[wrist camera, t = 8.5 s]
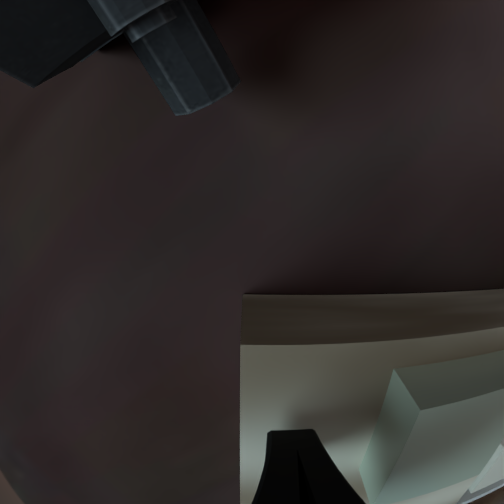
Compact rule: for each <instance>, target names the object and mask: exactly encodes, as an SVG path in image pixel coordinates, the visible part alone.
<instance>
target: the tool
mask: <svg viewBox="0 0 504 504" xmlns="http://www.w3.org/2000/svg"><path fill="white" fill-rule="evenodd" d="M122 33H123V34H124V36H125V37H126V39H127V40H128V42H129V44H130V45H131V47H132V48H133V50H134V51H135V53H136V54H137V56H138V58H139V59H140V61H141V62H142V64H143V65H144V67H145V68H146V70H147V72H148V73H149V75H150V76H151V78H152V79H153V81H154V83H155V84H156V86H157V87H158V89H159V90H160V92H161V93H162V95H163V97H164V98H165V100H166V101H167V103H168V104H169V106H170V108H171V109H172V111H173V112H174V114H175V115H176V116H177V115H185V114H191V113H193V112H195V111H197V110H199V109H201V108H204V107H206V106H208V105H210V104H212V103H214V102H216V101H217V100H219V99H221V98H222V97H224V96H226V95H227V94H229V93H231V92H232V91H233V90H234V89H235V88H236V87H237V85H238V84H239V83H240V82H241V81H240V79H239V77H238V75H237V73H236V71H235V69H234V67H233V65H232V63H231V61H230V59H229V58H228V56H227V54H226V52H225V50H224V48H223V46H222V45H221V43H220V41H219V39H218V37H217V35H216V34H215V32H214V30H213V28H212V26H211V25H210V23H209V21H208V19H207V17H206V16H205V14H204V12H203V10H202V9H201V7H200V5H199V3H198V2H197V0H0V70H1V71H3V72H5V73H6V74H8V75H10V76H12V77H14V78H16V79H18V80H19V81H21V82H23V83H25V84H27V85H29V86H31V87H32V88H34V87H36V86H38V85H40V84H41V83H43V82H45V81H46V80H48V79H50V78H52V77H54V76H56V75H57V74H59V73H61V72H63V71H65V70H67V69H69V68H71V67H73V66H74V65H75V64H77V63H78V62H79V61H81V62H82V61H83V60H85V59H86V58H87V57H89V56H90V55H92V54H93V53H94V52H96V51H97V50H99V49H100V48H101V47H103V46H104V45H106V44H107V43H109V42H110V41H112V40H113V39H115V38H116V37H118V36H119V35H121V34H122Z"/></svg>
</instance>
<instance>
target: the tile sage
mask: <svg viewBox="0 0 504 504" xmlns="http://www.w3.org/2000/svg"><path fill="white" fill-rule="evenodd" d="M503 438H504V350H501V351H497V352H492V353H487V354H483V355H478V356H473V357H467V358H462V359H457V360H451V361H445V362H439V363H432V364H425V365H418V366H411V367H403V368H394V369H393V373H392V376H391V380H390V383H389V386H388V390H387V393H386V396H385V399H384V402H383V405H382V409H381V412H380V414H379V417H378V420H377V423H376V426H375V429H374V432H373V434H372V437H371V440H370V442H369V445H368V448H367V450H366V453H365V455H364V458H363V460H362V463H361V465H360V467H359V472H360V475H361V478H362V481H363V484H364V487H365V490H366V493H367V497H368V500H369V503H370V504H391V503H395V502H399V501H403V500H407V499H410V498H414V497H417V496H421V495H424V494H427V493H430V492H434V491H437V490H440V489H442V488H445V487H448V486H451V485H454V484H456V483H459V482H462V481H464V480H467V479H469V478H472V477H474V476H476V475H479V474H480V473H481V471H482V470H483V469H484V467H485V466H486V464H487V463H488V461H489V460H490V458H491V457H492V455H493V454H494V452H495V451H496V449H497V448H498V446H499V445H500V443H501V442H502V440H503Z"/></svg>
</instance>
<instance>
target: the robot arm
mask: <svg viewBox="0 0 504 504" xmlns="http://www.w3.org/2000/svg"><path fill="white" fill-rule="evenodd" d="M251 504H366V503H365V502H364V501H363V499H362V498H361V497H360V496H359V495H358V494H357V493H356V491H355V490H354V489H353V488H352V486H351V485H350V484H349V483H348V481H347V480H346V479H345V477H344V476H343V475H342V473H341V472H340V471H339V469H338V468H337V466H336V465H335V463H334V462H333V460H332V459H331V457H330V456H329V454H328V453H327V451H326V449H325V448H324V446H323V444H322V442H321V441H320V439H319V437H318V435H317V433H316V431H315V430H313V429H299V430H271V431H270V432H268V433H267V441H266V454H265V463H264V467H263V471H262V474H261V478H260V481H259V485H258V488H257V491H256V493H255V496H254V498H253V501H252V503H251Z"/></svg>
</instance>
